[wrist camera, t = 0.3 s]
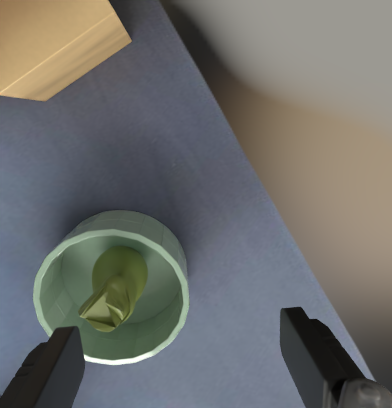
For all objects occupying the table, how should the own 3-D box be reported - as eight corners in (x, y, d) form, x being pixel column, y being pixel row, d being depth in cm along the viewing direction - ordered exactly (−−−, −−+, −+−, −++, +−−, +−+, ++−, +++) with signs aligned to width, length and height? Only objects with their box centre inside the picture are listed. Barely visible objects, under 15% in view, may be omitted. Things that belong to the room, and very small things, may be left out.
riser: (-31, -2, 26) (-117, -53, 19) (62, -73, 25) (12, -156, 18) (45, 101, 29) (-4, 95, 21) (132, 41, 28) (115, 11, 20)
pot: (45, 216, 32) (16, 237, 26) (181, 204, 32) (181, 222, 27) (71, 331, 36) (50, 372, 30) (191, 318, 36) (194, 356, 30)
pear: (127, 292, 34) (107, 360, 25) (88, 264, 33) (52, 323, 23) (160, 258, 33) (153, 314, 24) (121, 227, 32) (98, 274, 23)
